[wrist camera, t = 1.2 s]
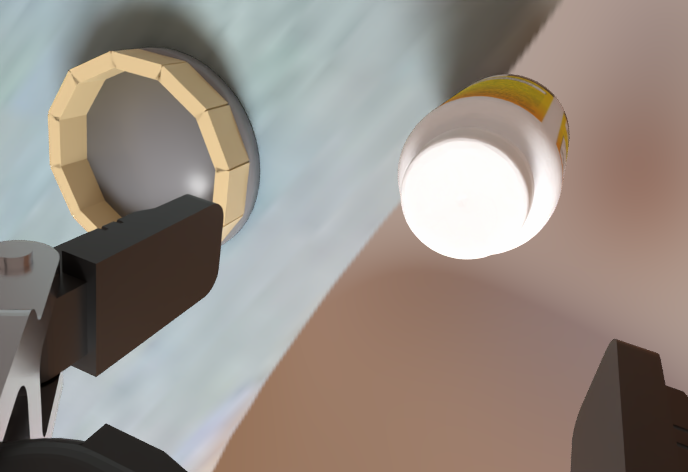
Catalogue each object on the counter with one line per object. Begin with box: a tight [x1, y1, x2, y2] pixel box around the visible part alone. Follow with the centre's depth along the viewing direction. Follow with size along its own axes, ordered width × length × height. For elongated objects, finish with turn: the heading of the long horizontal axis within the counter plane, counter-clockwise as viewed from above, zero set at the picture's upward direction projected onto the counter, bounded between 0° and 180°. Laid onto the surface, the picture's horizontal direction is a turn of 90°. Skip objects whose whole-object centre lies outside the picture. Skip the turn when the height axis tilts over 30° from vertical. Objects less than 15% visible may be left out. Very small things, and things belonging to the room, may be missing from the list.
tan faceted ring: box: [48, 47, 260, 245], centre depth 33 cm, size 12×12×3 cm
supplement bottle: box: [398, 74, 569, 259], centre depth 22 cm, size 6×6×10 cm
